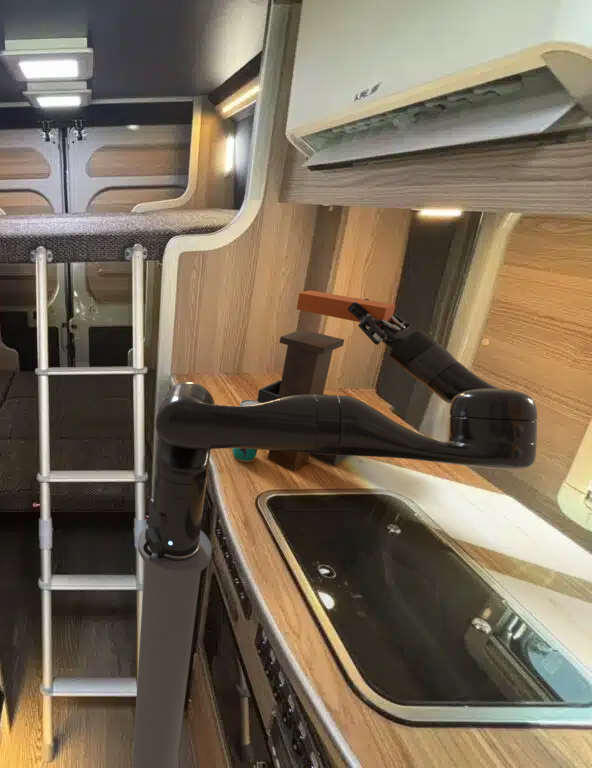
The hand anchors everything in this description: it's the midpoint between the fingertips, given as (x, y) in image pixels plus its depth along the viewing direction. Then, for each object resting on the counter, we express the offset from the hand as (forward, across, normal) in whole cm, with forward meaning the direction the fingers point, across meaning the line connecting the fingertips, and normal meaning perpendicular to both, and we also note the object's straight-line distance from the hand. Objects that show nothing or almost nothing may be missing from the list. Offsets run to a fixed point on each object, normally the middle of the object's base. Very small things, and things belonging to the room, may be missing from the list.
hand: (357, 303), depth 103 cm
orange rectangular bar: (+1, 0, +4) cm, 4 cm away
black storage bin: (-13, -3, +38) cm, 40 cm away
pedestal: (-16, +9, +36) cm, 40 cm away
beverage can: (-9, +16, +40) cm, 44 cm away
